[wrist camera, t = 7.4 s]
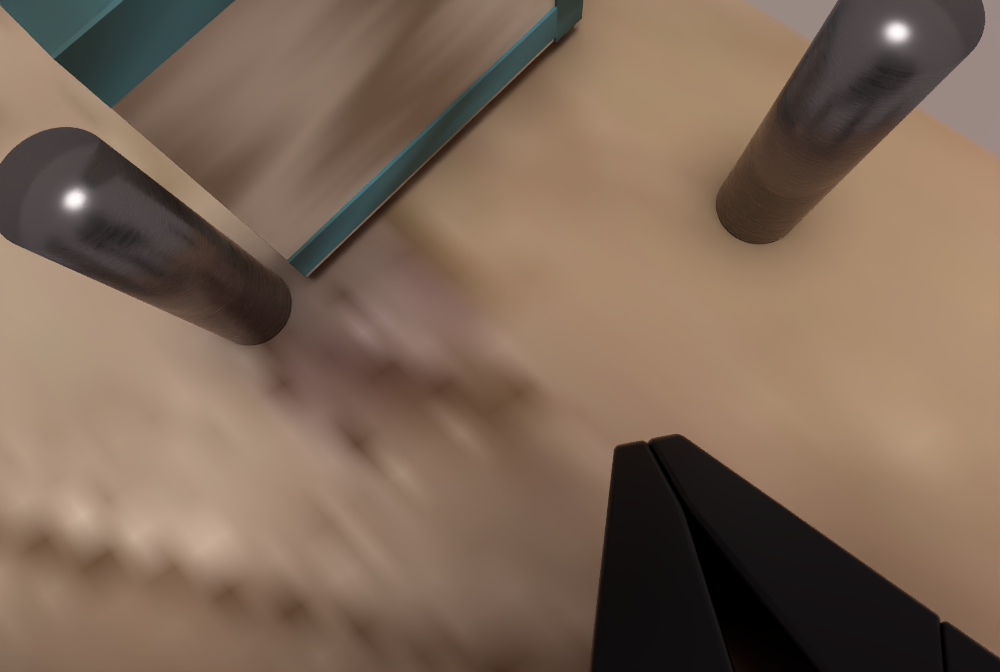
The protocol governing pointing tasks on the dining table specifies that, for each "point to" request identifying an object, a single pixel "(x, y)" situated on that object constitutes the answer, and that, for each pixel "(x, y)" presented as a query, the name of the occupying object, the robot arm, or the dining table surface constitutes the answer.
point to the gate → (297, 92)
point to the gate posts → (265, 297)
